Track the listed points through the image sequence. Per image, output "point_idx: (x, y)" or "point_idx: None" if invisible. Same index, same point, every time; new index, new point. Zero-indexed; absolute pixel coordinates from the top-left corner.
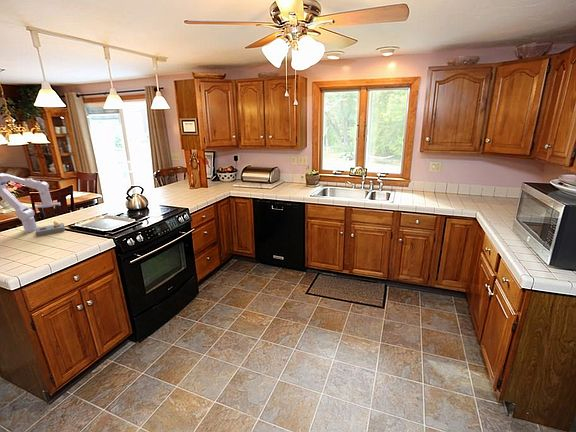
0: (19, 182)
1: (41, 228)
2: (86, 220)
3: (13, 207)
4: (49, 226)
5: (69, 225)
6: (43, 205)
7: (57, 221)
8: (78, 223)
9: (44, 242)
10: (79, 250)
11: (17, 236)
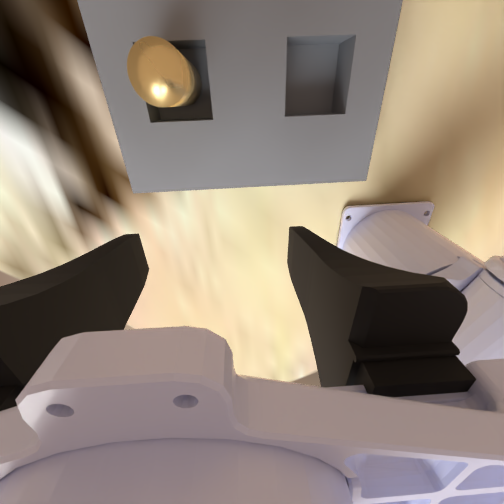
0: None
1: (329, 114)
2: (3, 262)
3: None
4: (254, 138)
5: (112, 197)
6: (338, 469)
7: (127, 68)
8: (43, 212)
9: None
10: None
11: (491, 136)
